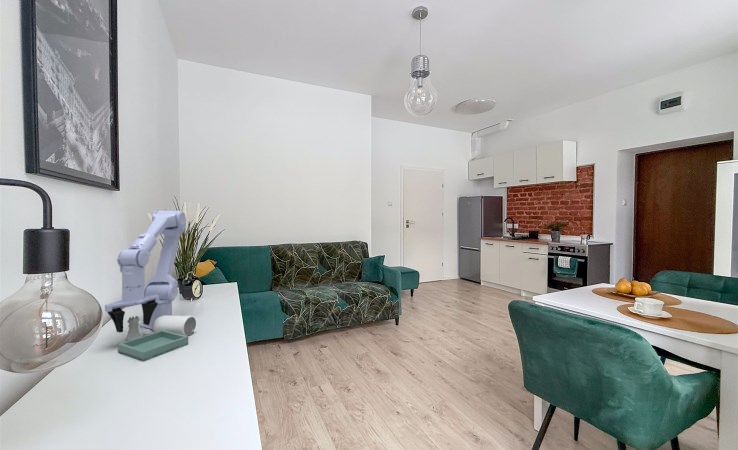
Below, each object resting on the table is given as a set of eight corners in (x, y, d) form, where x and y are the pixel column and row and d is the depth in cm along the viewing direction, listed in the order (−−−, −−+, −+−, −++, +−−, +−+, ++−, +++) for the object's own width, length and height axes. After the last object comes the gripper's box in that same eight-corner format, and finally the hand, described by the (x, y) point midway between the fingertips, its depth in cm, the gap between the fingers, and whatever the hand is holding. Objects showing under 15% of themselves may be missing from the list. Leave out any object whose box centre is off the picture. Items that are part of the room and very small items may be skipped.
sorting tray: (117, 352, 90) (117, 344, 90) (163, 337, 102) (163, 330, 102) (143, 361, 84) (143, 352, 84) (188, 344, 96) (188, 336, 96)
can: (183, 319, 101) (150, 318, 102) (183, 338, 101) (150, 337, 102) (196, 313, 107) (165, 313, 108) (196, 331, 107) (165, 330, 108)
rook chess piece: (132, 345, 95) (132, 320, 95) (121, 344, 96) (121, 319, 96) (145, 340, 99) (145, 315, 99) (134, 338, 100) (134, 314, 100)
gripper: (113, 292, 89) (113, 337, 89) (164, 283, 102) (164, 323, 102) (101, 289, 92) (101, 333, 92) (151, 281, 105) (151, 320, 105)
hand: (133, 327), depth 98 cm, fingers open, 7 cm apart
